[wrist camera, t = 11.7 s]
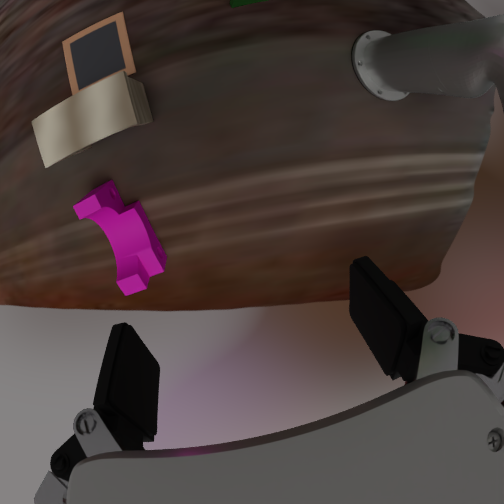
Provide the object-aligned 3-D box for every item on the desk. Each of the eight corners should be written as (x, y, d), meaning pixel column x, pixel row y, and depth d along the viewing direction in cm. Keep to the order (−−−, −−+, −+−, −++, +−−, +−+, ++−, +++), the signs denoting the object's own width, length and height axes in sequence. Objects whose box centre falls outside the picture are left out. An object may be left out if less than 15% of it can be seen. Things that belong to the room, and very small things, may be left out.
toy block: (167, 256, 42) (161, 283, 36) (135, 268, 43) (125, 295, 36) (126, 172, 35) (110, 185, 28) (93, 189, 35) (73, 206, 28)
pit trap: (123, 12, 22) (122, 11, 22) (136, 72, 28) (135, 71, 27) (63, 42, 22) (62, 41, 22) (75, 100, 28) (73, 100, 27)
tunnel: (146, 81, 29) (123, 70, 19) (156, 120, 32) (137, 123, 22) (72, 115, 29) (31, 121, 19) (83, 151, 32) (45, 168, 22)
